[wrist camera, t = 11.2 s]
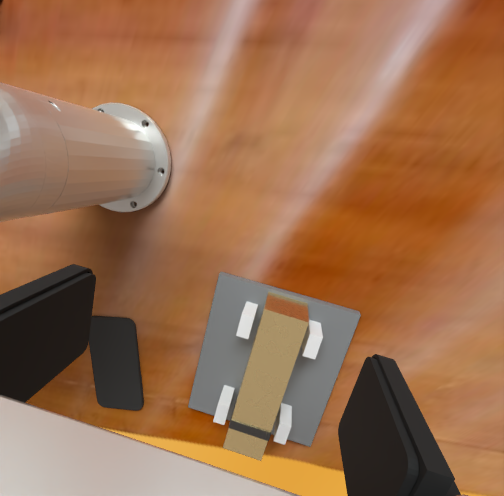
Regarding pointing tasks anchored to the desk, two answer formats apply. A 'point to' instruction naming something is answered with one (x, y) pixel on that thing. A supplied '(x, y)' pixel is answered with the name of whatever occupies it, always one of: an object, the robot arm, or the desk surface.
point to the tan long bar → (267, 374)
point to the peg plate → (239, 347)
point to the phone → (116, 362)
